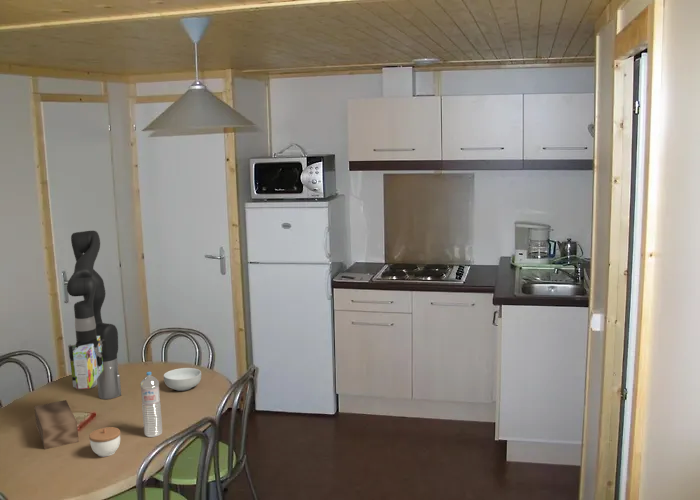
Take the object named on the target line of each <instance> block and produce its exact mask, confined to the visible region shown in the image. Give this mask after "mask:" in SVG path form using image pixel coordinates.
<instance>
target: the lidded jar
mask: <svg viewBox="0 0 700 500" xmlns="http://www.w3.org/2000/svg"><path fill="white" fill-rule="evenodd" d="M88 437H89V445H90V447H91V450H92V451H93V453H95V454H96V455H97V456H98V457H101V458H103V457H104V458H105V457H110V456H113V455H115V453H116V451H117V450H118V449H119V447H120V443H121V430H120V429H119V428H118V427H112V426H111V427H109V426H107V427H101V428H98V429H95V430H93V431H92V432H90V434H89V435H88Z"/></svg>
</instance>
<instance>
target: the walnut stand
mask: <svg viewBox="0 0 700 500" xmlns="http://www.w3.org/2000/svg"><path fill="white" fill-rule="evenodd" d="M34 415H35V425H36V428H37V431H38V434H39V437H40V440H41V443H42V446H43V449H44V450H47V449H51V448H56V447H60V446H65V445H69V444H74V443H79V442H80V440H79V431H78V430H79V429H78V422H77V419H76V417H75V415H74V413H73V411H72V409H71V407H70V405H69V403H68V401H67V399H65V400H59V401H55V402H50V403H45V404H40V405H35V406H34Z"/></svg>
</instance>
